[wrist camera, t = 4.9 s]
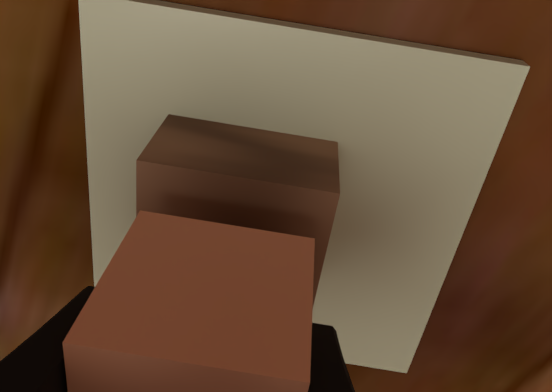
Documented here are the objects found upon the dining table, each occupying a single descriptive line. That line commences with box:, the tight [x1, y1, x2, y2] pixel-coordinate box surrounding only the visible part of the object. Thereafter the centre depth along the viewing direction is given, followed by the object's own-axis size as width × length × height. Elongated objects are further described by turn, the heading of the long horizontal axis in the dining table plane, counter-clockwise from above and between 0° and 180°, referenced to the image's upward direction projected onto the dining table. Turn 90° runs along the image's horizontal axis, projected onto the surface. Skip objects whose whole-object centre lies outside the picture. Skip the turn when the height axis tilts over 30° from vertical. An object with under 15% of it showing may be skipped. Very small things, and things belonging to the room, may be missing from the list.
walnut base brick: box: [136, 114, 340, 309], centre depth 15 cm, size 5×5×3 cm
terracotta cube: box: [63, 210, 315, 392], centre depth 11 cm, size 4×4×4 cm
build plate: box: [79, 0, 530, 373], centre depth 17 cm, size 12×12×1 cm
